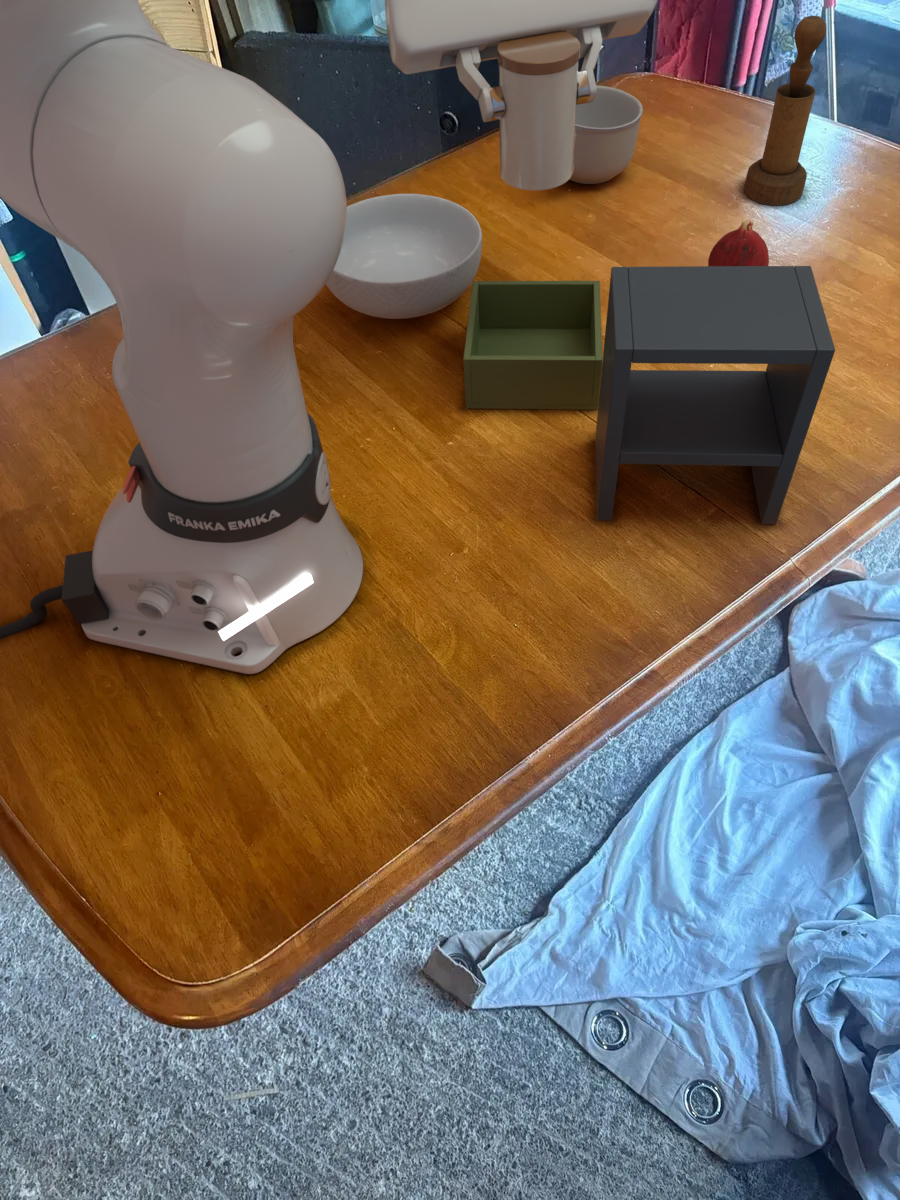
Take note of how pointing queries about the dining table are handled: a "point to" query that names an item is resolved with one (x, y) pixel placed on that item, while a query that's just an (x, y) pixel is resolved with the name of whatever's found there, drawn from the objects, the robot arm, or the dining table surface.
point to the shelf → (711, 373)
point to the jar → (538, 109)
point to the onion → (740, 248)
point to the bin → (533, 345)
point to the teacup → (605, 135)
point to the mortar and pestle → (788, 126)
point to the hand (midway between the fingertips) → (540, 109)
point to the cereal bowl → (406, 255)
